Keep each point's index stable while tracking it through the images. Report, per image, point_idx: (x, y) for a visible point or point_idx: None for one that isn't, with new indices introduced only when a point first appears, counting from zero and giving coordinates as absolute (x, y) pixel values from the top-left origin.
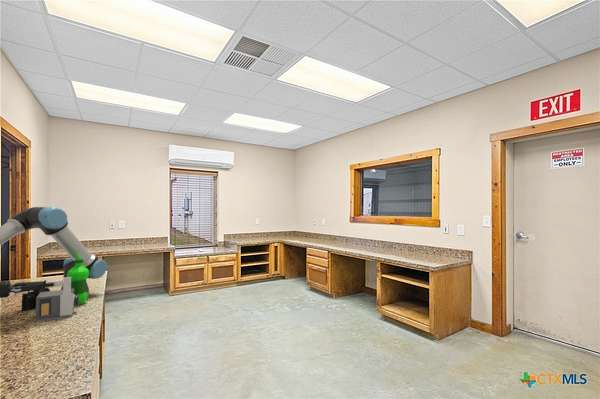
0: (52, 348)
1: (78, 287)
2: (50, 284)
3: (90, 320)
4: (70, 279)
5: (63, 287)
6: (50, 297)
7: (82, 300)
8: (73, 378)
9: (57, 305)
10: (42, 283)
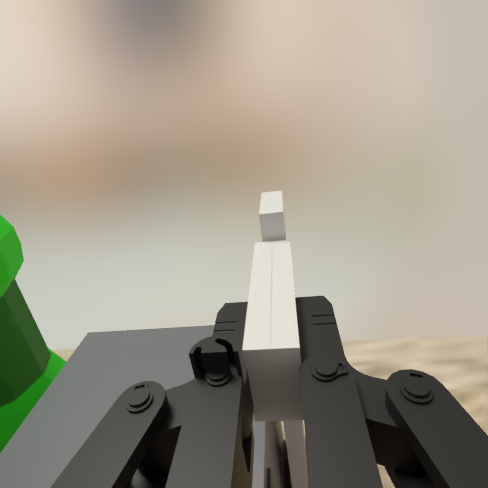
0: None
1: (25, 334)
2: (335, 327)
3: (424, 354)
4: (283, 211)
5: None
6: (266, 470)
7: None
8: None
9: (275, 467)
10: (355, 383)
